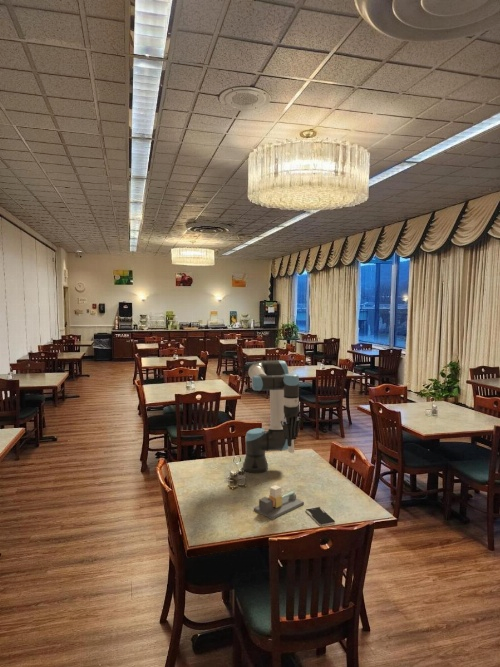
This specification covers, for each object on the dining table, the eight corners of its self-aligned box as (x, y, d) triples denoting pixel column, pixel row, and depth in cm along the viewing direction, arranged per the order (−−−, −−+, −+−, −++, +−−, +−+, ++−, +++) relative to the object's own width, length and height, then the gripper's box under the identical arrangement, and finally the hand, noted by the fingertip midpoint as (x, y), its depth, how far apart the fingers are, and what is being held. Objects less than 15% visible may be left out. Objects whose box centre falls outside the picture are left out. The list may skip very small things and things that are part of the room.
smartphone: (320, 524, 180) (304, 508, 194) (320, 527, 180) (304, 511, 194) (335, 521, 182) (319, 506, 197) (335, 524, 183) (319, 509, 197)
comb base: (254, 510, 195) (254, 497, 195) (285, 496, 210) (285, 483, 209) (271, 519, 186) (271, 505, 186) (303, 504, 201) (303, 491, 200)
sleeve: (269, 504, 196) (269, 487, 196) (275, 501, 199) (275, 484, 199) (276, 507, 193) (276, 490, 193) (282, 505, 196) (282, 487, 195)
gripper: (287, 409, 196) (287, 457, 198) (305, 404, 205) (305, 450, 206) (276, 406, 202) (276, 453, 203) (294, 402, 210) (294, 447, 212)
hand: (291, 451), depth 205 cm, fingers closed
